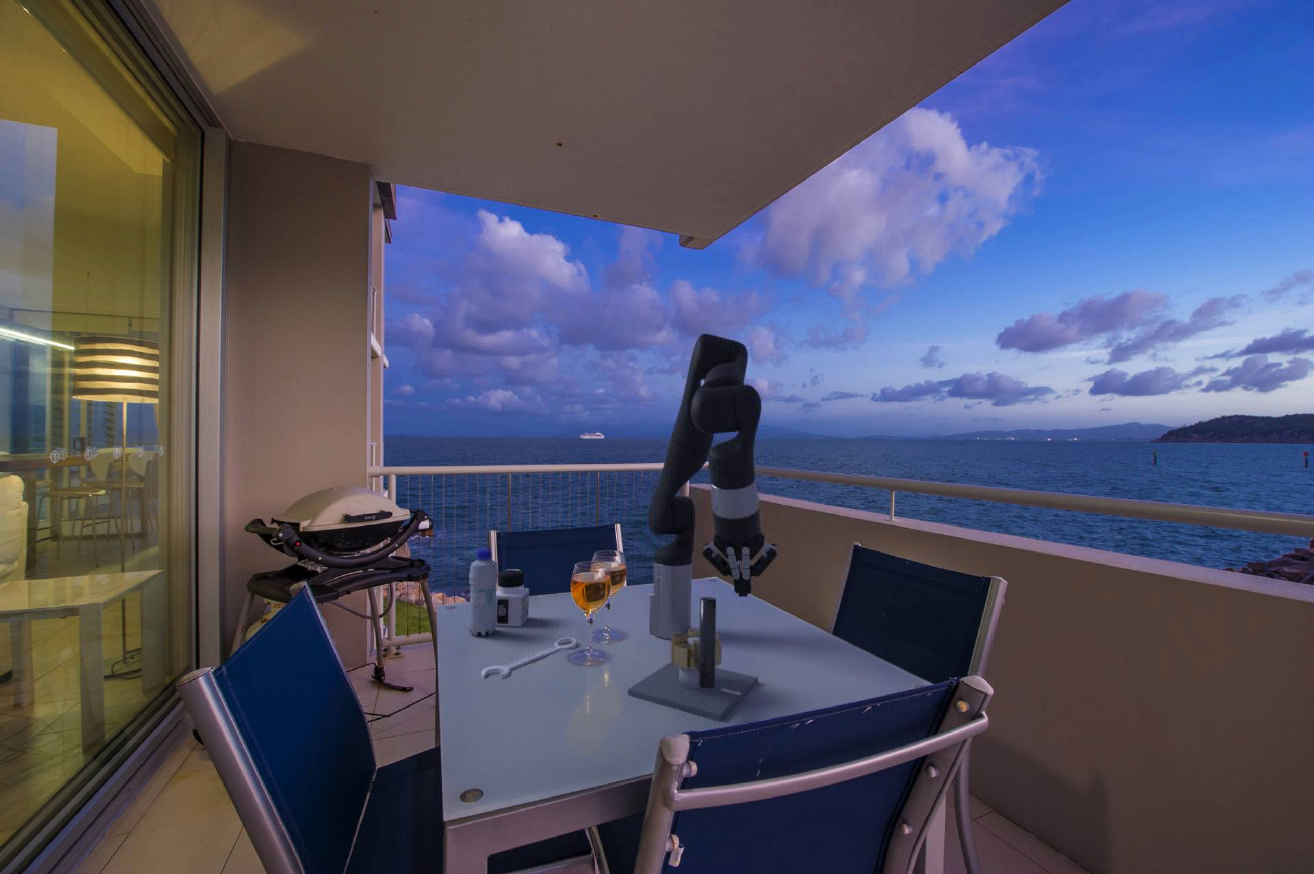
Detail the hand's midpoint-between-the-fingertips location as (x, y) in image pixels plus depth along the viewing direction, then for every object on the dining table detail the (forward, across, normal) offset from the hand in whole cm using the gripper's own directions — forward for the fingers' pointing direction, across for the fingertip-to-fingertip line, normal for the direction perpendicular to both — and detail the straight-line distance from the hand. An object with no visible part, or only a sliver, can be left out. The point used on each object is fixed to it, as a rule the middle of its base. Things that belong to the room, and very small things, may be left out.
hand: (743, 593), depth 96 cm
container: (+28, -63, +22) cm, 73 cm away
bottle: (+24, -65, +13) cm, 71 cm away
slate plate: (+20, -10, -2) cm, 23 cm away
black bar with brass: (+13, -9, -4) cm, 16 cm away
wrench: (+21, -46, +2) cm, 50 cm away
